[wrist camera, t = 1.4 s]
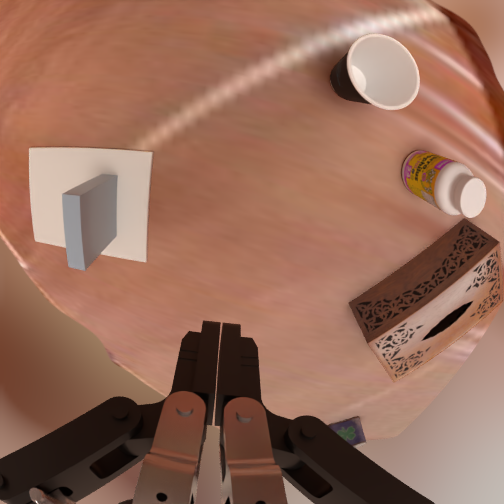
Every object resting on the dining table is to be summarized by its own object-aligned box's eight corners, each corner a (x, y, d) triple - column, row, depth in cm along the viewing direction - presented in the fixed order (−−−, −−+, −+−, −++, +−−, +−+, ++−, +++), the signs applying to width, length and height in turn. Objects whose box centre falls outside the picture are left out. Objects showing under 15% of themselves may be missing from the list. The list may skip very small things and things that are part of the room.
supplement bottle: (418, 140, 32) (478, 156, 21) (441, 172, 34) (497, 197, 23) (391, 172, 35) (446, 199, 23) (416, 202, 37) (468, 237, 25)
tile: (117, 175, 34) (79, 195, 25) (116, 236, 37) (85, 270, 28) (102, 173, 33) (61, 193, 24) (102, 233, 37) (68, 266, 28)
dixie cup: (384, 99, 30) (431, 97, 20) (335, 119, 32) (370, 121, 22) (358, 47, 27) (398, 26, 17) (306, 65, 28) (332, 44, 19)
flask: (359, 415, 62) (368, 447, 53) (359, 419, 63) (367, 450, 54) (326, 424, 63) (332, 457, 54) (327, 428, 65) (333, 460, 55)
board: (153, 151, 33) (152, 152, 32) (147, 260, 40) (146, 262, 39) (31, 147, 31) (29, 148, 30) (36, 239, 38) (35, 241, 37)
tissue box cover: (463, 217, 38) (499, 242, 29) (475, 273, 43) (503, 300, 34) (348, 302, 44) (367, 343, 36) (376, 345, 50) (393, 382, 41)
